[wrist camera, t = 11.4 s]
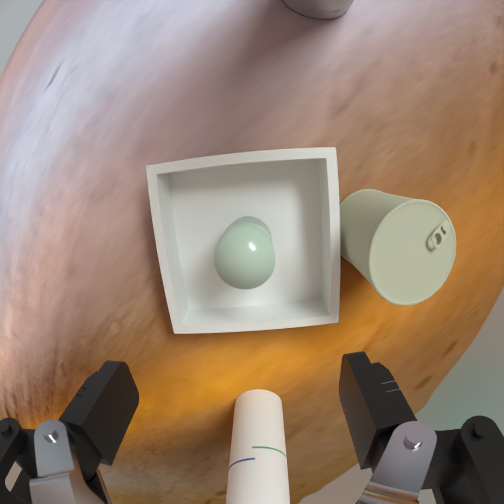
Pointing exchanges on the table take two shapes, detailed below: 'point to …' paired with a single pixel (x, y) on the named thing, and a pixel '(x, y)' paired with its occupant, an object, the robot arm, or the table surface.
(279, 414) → the cylindrical container
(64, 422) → the robot arm
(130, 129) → the table surface
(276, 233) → the grey tub
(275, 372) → the table surface
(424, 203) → the can
